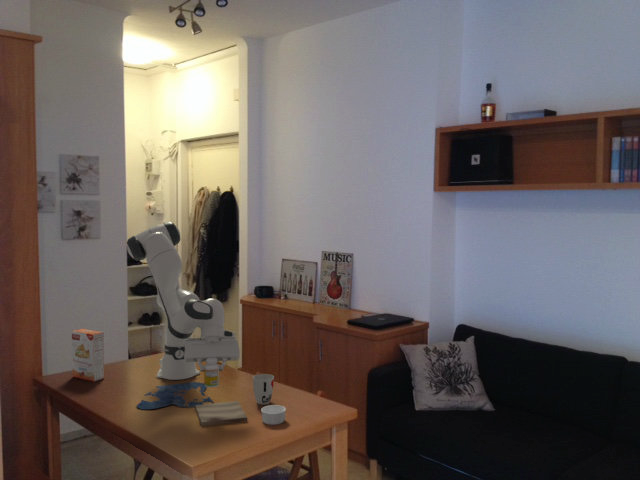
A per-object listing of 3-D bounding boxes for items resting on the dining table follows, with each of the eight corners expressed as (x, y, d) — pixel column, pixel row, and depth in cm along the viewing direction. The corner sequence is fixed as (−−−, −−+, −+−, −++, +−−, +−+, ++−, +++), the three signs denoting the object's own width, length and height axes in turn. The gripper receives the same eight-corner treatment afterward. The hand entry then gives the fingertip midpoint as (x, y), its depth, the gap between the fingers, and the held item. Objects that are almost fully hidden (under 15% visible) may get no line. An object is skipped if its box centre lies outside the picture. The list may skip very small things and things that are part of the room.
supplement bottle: (208, 382, 216) (208, 356, 215) (221, 384, 214) (221, 358, 214) (201, 386, 211) (201, 360, 210) (215, 388, 209) (215, 361, 209)
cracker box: (71, 377, 257) (70, 330, 256) (83, 374, 263) (82, 328, 261) (93, 382, 250) (92, 334, 249) (104, 378, 256) (104, 331, 254)
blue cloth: (204, 382, 251) (204, 381, 251) (211, 405, 224) (211, 403, 224) (138, 388, 244) (138, 386, 244) (137, 411, 216) (137, 409, 216)
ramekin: (277, 427, 201) (277, 415, 201) (256, 422, 206) (256, 410, 206) (290, 419, 209) (290, 407, 209) (270, 414, 214) (270, 403, 213)
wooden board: (195, 409, 218) (195, 405, 218) (237, 404, 224) (237, 401, 223) (201, 426, 201) (201, 422, 201) (247, 421, 206) (247, 417, 206)
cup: (262, 407, 221) (262, 381, 220) (248, 402, 226) (248, 377, 226) (278, 402, 227) (278, 376, 226) (264, 397, 232) (264, 372, 232)
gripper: (183, 334, 217) (182, 367, 208) (239, 332, 220) (239, 365, 211) (184, 343, 222) (183, 375, 212) (239, 341, 225) (239, 373, 216)
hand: (211, 370), depth 212 cm, fingers closed on supplement bottle, 5 cm apart
